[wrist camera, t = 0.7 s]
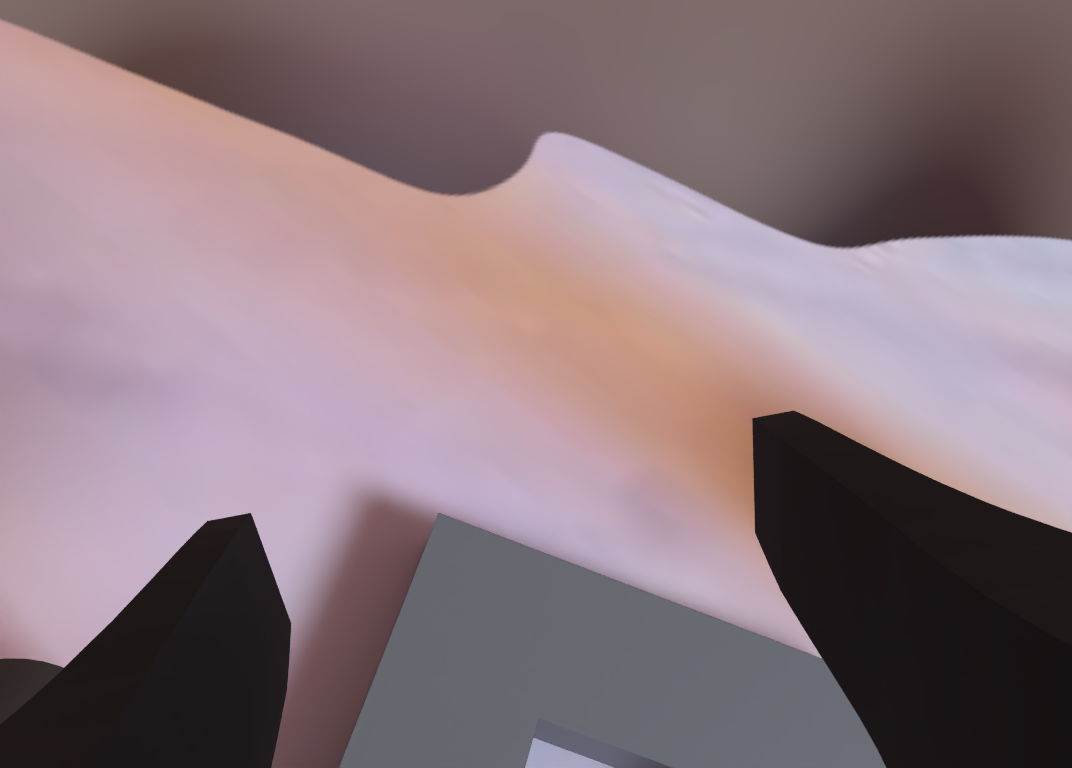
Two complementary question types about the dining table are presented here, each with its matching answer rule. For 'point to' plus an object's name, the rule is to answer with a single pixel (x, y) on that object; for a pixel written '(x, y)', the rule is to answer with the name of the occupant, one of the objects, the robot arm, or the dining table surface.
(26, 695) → the capped peg
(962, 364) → the dining table surface
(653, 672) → the socket block
